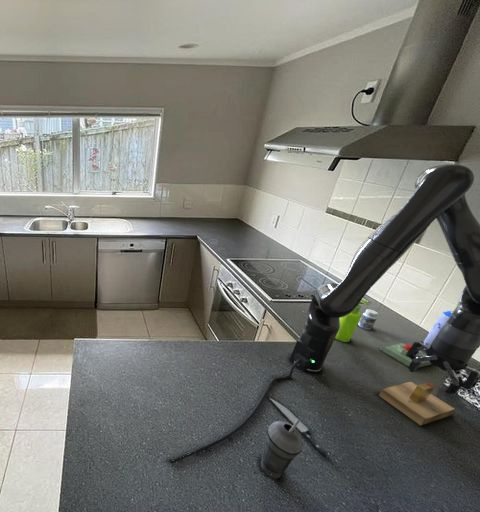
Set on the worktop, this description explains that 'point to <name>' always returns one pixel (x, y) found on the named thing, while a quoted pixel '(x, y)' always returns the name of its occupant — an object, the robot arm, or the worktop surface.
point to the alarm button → (408, 347)
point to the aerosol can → (437, 327)
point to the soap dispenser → (349, 323)
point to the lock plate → (416, 404)
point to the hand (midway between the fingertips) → (429, 381)
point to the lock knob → (422, 392)
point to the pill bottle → (368, 319)
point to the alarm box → (403, 354)
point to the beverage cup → (280, 447)
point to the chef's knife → (299, 425)
